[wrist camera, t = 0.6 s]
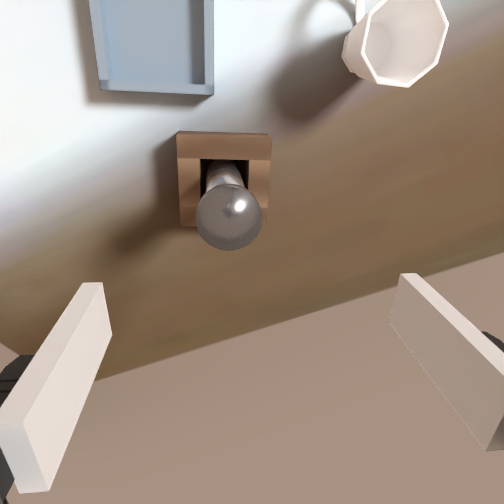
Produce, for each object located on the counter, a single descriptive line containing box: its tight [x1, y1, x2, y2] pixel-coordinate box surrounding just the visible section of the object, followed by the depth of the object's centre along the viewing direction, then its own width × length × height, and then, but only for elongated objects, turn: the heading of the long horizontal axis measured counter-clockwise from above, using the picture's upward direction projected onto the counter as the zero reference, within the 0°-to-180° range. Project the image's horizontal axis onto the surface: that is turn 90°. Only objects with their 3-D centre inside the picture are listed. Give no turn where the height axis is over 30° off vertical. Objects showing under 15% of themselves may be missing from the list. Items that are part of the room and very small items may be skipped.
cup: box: [341, 0, 449, 87], centre depth 29 cm, size 7×10×8 cm
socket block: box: [176, 131, 272, 226], centre depth 35 cm, size 9×9×4 cm
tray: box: [89, 0, 214, 95], centre depth 29 cm, size 14×10×2 cm
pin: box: [196, 159, 262, 250], centre depth 31 cm, size 5×5×14 cm
